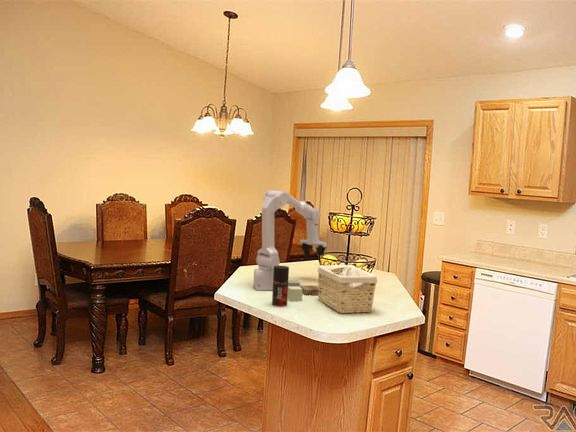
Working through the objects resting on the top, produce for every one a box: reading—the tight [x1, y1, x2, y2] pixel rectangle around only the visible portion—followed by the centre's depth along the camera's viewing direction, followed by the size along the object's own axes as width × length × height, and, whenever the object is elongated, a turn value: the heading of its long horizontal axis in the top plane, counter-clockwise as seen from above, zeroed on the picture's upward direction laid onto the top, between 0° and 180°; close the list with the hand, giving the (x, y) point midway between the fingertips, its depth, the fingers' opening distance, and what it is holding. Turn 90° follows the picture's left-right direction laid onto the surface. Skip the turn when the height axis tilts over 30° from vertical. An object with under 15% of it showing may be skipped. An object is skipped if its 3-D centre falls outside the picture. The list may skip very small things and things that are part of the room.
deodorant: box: [271, 265, 290, 308], centre depth 192 cm, size 6×6×15 cm
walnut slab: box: [300, 284, 321, 297], centre depth 214 cm, size 8×8×3 cm
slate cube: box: [288, 279, 301, 287], centre depth 213 cm, size 5×5×5 cm
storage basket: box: [317, 264, 378, 314], centre depth 196 cm, size 24×16×15 cm
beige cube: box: [287, 286, 303, 302], centre depth 202 cm, size 5×5×5 cm
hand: (314, 259), depth 240 cm, fingers open, 7 cm apart
